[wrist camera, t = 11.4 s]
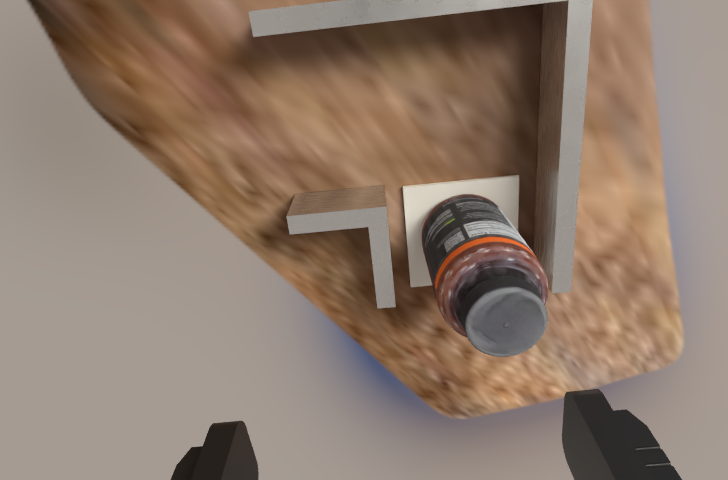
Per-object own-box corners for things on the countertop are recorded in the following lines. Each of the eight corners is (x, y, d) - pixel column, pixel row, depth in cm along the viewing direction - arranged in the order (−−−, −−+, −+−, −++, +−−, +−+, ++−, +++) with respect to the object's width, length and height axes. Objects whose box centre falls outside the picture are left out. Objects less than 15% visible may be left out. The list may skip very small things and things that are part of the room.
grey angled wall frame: (263, 11, 29) (248, 11, 25) (565, -25, 28) (595, -30, 24) (310, 284, 36) (304, 314, 33) (550, 262, 36) (570, 291, 32)
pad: (402, 186, 33) (402, 187, 33) (518, 174, 33) (519, 176, 33) (410, 285, 36) (410, 287, 36) (515, 275, 36) (516, 277, 36)
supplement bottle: (484, 280, 36) (532, 388, 26) (407, 255, 35) (424, 357, 25) (522, 206, 33) (592, 293, 23) (440, 178, 33) (475, 255, 22)
